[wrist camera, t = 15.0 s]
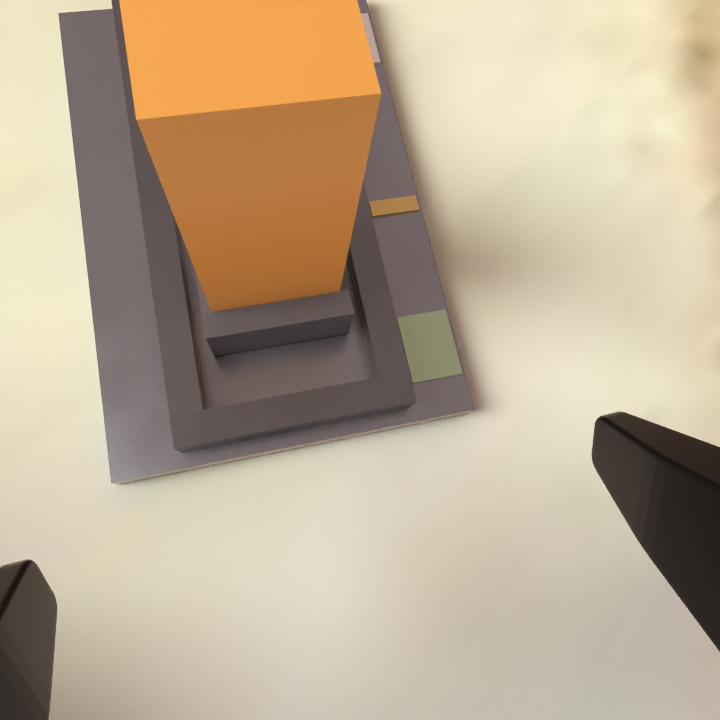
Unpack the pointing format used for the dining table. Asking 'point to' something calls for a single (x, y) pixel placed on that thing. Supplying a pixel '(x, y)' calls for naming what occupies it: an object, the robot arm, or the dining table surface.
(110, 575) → the dining table surface
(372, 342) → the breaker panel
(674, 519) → the robot arm
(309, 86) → the breaker toggle
